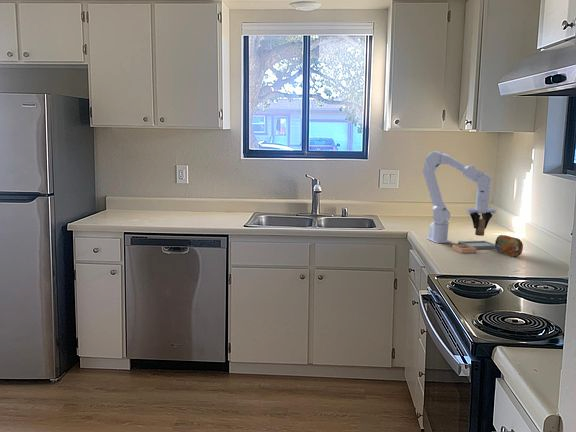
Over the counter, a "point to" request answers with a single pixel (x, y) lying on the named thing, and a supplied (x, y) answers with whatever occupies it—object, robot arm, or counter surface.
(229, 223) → the counter surface
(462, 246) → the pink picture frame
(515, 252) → the tin
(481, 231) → the brown rounded cylinder
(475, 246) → the tray
